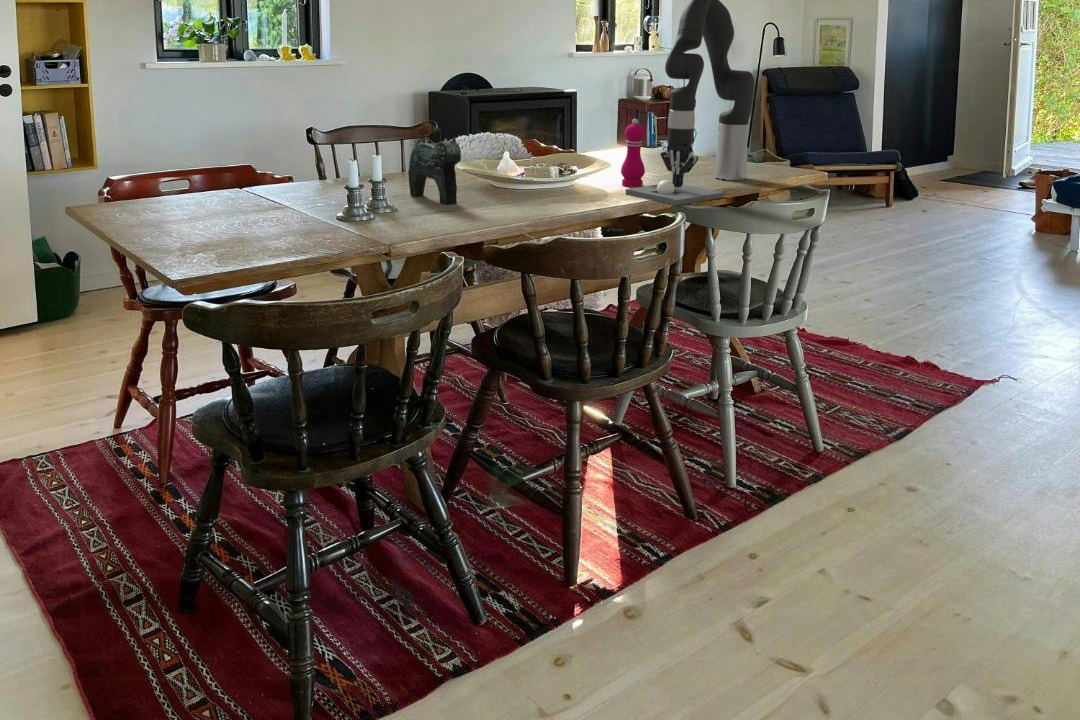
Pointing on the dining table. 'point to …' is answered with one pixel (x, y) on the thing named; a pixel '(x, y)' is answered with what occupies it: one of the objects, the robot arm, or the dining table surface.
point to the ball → (665, 187)
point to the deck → (676, 194)
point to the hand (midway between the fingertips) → (677, 186)
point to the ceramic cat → (435, 168)
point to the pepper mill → (633, 156)
